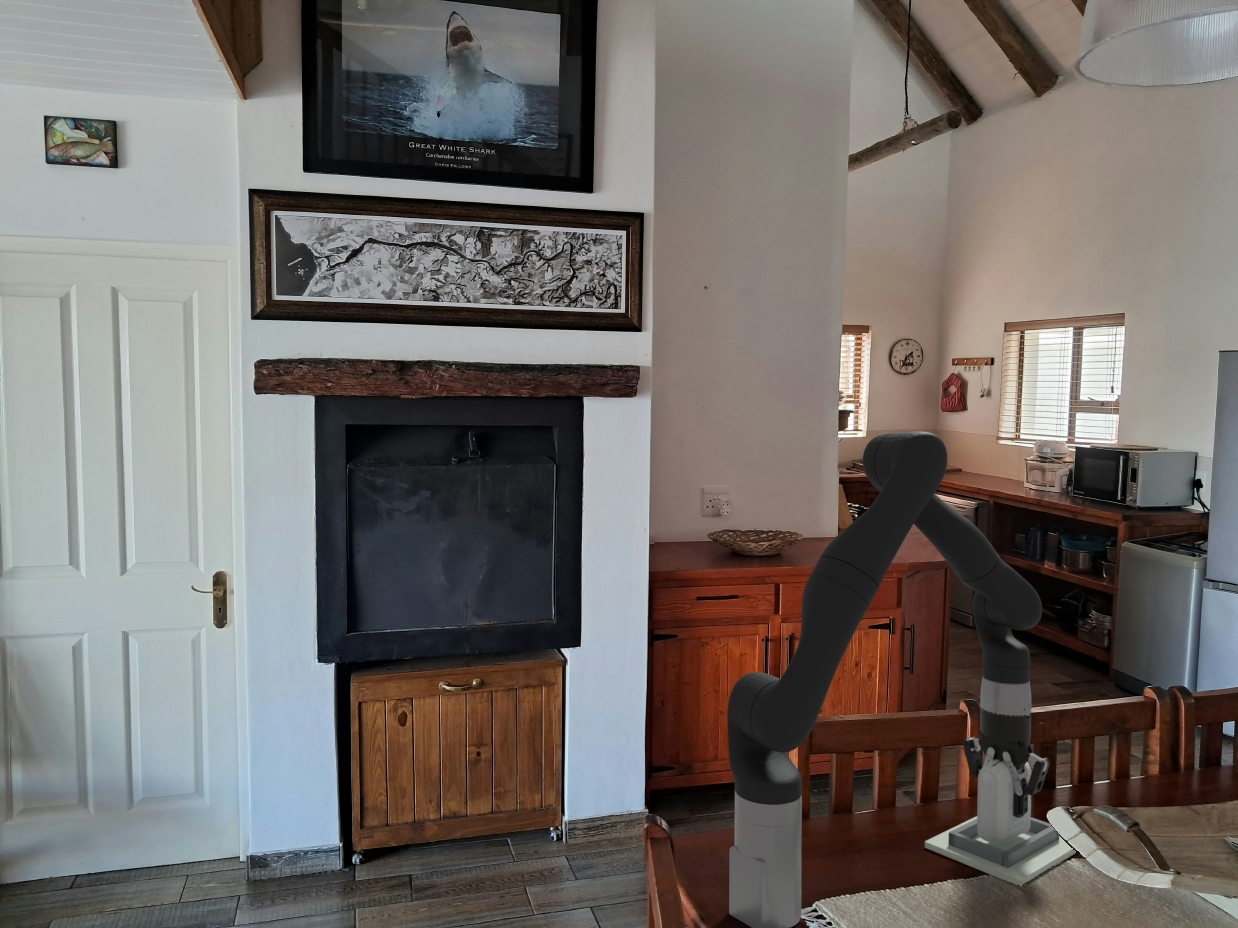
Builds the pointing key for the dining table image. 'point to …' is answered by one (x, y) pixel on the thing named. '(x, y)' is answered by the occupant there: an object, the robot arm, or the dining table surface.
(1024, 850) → the dock
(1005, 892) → the dining table surface
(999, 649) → the robot arm
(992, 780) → the grey rounded block
